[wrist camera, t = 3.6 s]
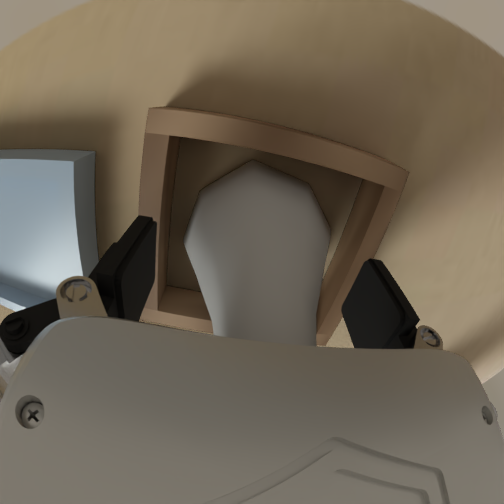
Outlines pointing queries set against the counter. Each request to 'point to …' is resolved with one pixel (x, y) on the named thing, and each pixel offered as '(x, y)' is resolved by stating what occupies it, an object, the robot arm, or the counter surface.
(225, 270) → the flask
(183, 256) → the counter surface
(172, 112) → the holder
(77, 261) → the tray
